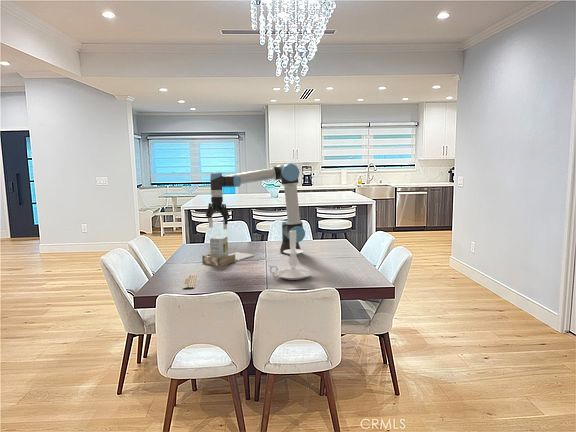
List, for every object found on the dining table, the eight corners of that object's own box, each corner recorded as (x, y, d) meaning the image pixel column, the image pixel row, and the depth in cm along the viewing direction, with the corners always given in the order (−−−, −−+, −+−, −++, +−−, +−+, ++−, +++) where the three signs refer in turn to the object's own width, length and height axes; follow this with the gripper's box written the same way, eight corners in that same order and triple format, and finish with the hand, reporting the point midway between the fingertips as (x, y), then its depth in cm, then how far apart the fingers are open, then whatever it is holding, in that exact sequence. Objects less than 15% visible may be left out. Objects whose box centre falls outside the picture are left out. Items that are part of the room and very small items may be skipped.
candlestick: (264, 276, 230) (263, 228, 226) (304, 271, 238) (303, 225, 234) (274, 286, 211) (273, 234, 207) (317, 280, 219) (317, 230, 215)
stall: (235, 261, 265) (235, 254, 265) (219, 266, 254) (219, 258, 253) (218, 258, 275) (218, 251, 274) (202, 262, 263) (202, 255, 262)
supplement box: (223, 264, 259) (222, 238, 257) (210, 263, 261) (209, 238, 259) (228, 260, 268) (227, 236, 266) (215, 260, 270) (214, 235, 268)
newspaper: (194, 289, 209) (194, 286, 209) (180, 290, 208) (180, 287, 207) (196, 277, 232) (196, 274, 232) (184, 278, 231) (184, 275, 230)
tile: (254, 256, 280) (254, 254, 280) (237, 261, 266) (237, 259, 266) (236, 253, 290) (236, 252, 290) (220, 257, 276) (219, 256, 276)
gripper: (199, 195, 263) (200, 227, 266) (226, 197, 249) (227, 230, 251) (208, 195, 269) (209, 226, 272) (234, 196, 255) (235, 229, 257)
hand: (217, 228), depth 262 cm, fingers open, 13 cm apart
